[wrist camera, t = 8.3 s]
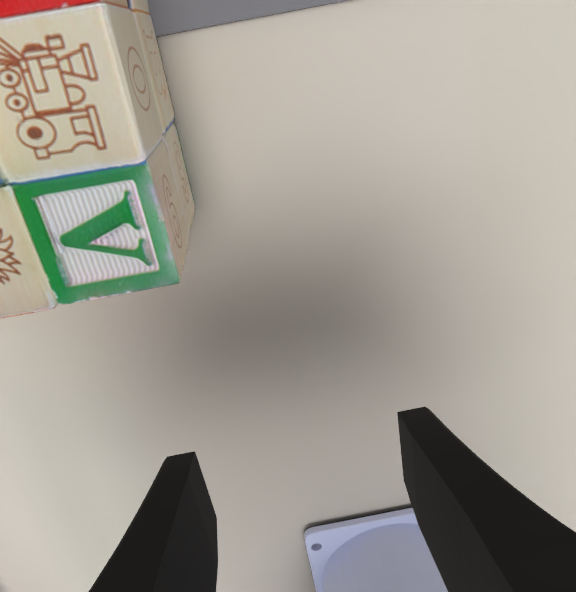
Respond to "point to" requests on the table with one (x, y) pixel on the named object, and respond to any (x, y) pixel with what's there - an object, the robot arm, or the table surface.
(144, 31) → the stack of blocks
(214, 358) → the table surface
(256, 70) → the table surface
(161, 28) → the mat
